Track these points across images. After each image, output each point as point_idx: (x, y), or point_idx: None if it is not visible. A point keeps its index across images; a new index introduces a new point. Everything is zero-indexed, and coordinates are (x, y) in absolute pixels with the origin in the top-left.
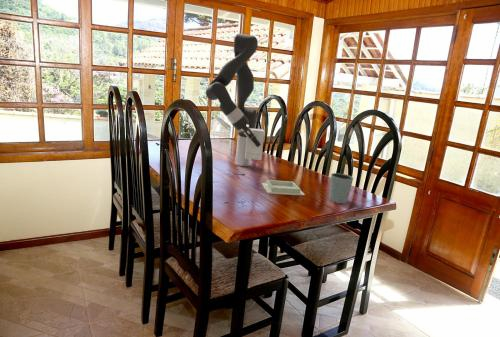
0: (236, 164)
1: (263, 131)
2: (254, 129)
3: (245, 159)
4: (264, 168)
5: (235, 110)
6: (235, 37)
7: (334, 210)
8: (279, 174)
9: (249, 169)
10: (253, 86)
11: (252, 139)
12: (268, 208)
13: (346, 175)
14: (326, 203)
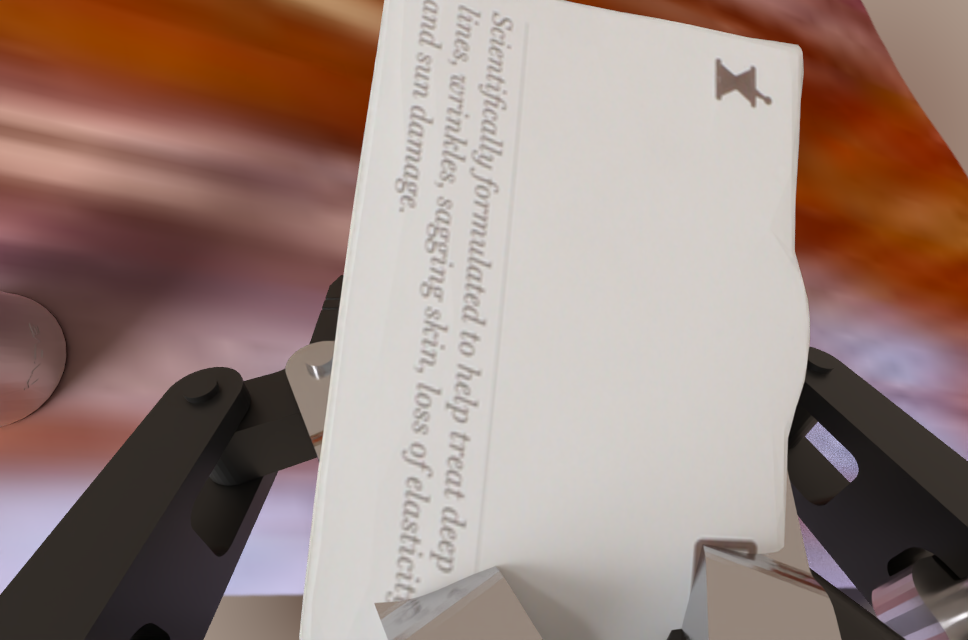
0: (22, 417)
1: (802, 74)
2: (627, 382)
3: (1, 345)
4: (94, 185)
5: None
6: None
7: (843, 9)
8: (255, 107)
9: (158, 318)
10: None
11: (802, 433)
12: (907, 324)
13: None
14: (761, 8)
